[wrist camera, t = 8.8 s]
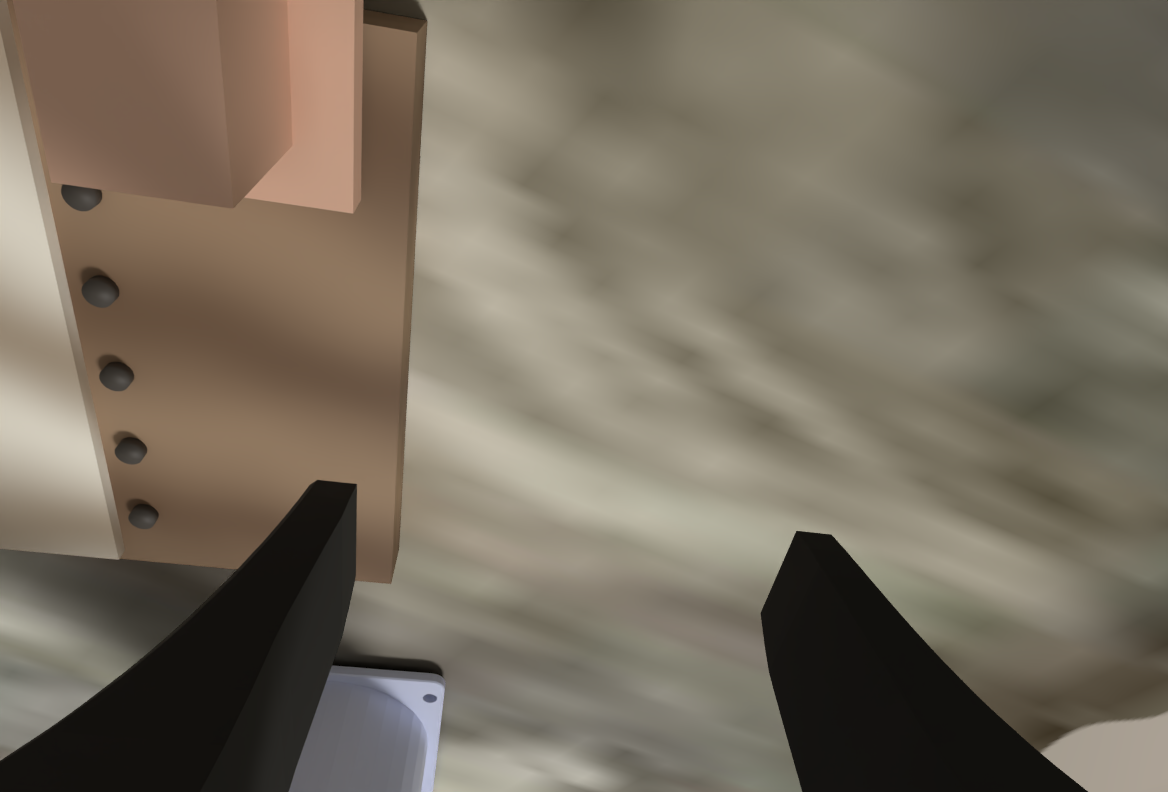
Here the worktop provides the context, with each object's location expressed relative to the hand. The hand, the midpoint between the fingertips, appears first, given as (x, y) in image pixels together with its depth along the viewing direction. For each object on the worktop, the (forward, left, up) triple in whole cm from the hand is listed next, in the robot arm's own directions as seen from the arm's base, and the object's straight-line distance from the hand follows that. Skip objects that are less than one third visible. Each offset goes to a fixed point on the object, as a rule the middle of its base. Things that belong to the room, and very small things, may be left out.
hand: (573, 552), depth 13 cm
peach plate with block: (+5, +8, -8) cm, 12 cm away
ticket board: (-2, +11, -9) cm, 15 cm away
